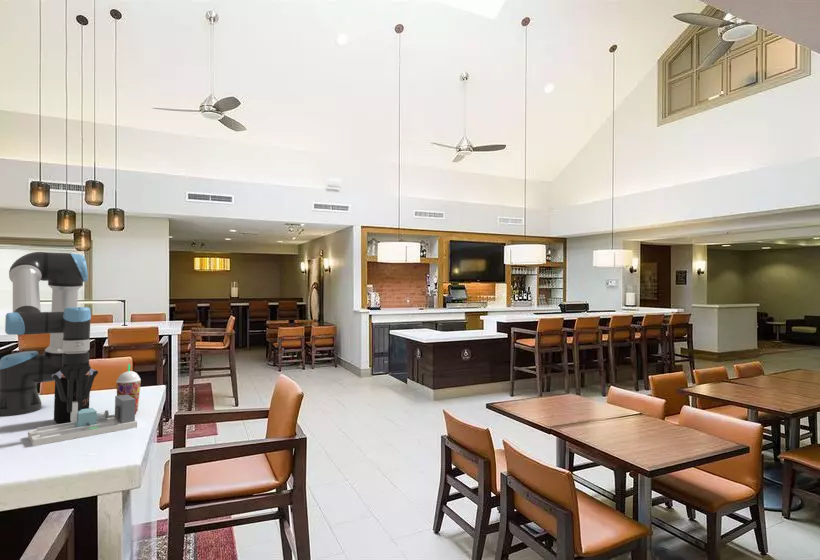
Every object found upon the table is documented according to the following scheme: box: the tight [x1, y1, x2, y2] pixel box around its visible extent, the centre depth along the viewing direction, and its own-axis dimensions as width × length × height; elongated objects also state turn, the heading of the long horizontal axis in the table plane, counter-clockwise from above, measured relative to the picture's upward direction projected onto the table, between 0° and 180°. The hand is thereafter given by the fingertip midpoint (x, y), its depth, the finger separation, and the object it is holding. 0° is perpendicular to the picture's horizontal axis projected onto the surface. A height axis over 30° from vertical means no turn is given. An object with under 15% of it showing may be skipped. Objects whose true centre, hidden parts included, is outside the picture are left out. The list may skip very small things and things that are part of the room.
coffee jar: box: [53, 372, 91, 424], centre depth 170 cm, size 11×11×18 cm
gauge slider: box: [75, 407, 110, 427], centre depth 157 cm, size 9×9×5 cm
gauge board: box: [27, 394, 138, 447], centre depth 156 cm, size 12×29×10 cm, turn 136°
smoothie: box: [115, 363, 142, 415], centre depth 178 cm, size 8×8×20 cm
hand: (73, 421), depth 154 cm, fingers closed
